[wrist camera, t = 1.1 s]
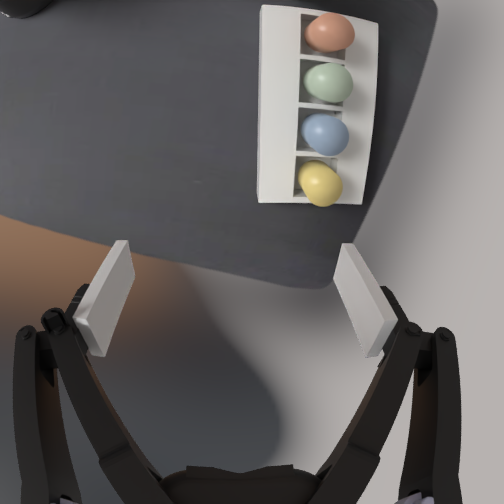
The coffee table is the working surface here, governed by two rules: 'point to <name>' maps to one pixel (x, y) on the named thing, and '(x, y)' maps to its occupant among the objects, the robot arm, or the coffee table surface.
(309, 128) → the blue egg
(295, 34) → the white slotted tray
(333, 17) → the orange rounded piece
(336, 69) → the pale green rounded piece
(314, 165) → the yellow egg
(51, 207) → the coffee table surface
